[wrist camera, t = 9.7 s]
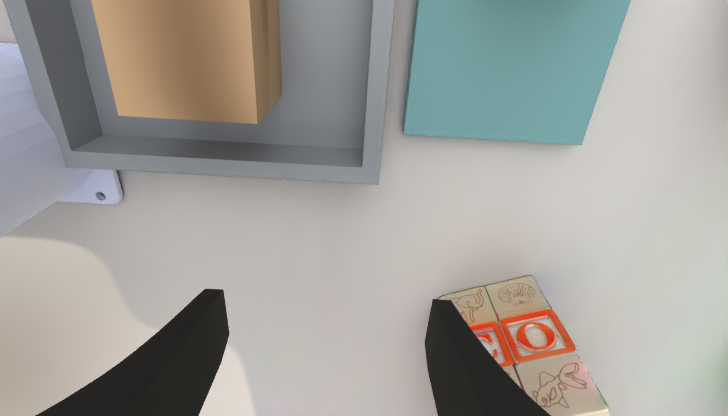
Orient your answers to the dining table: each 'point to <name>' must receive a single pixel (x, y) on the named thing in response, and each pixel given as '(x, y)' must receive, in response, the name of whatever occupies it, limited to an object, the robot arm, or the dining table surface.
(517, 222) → the dining table surface
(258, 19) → the plain box
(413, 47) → the teal board
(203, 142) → the tray
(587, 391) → the stack of blocks
